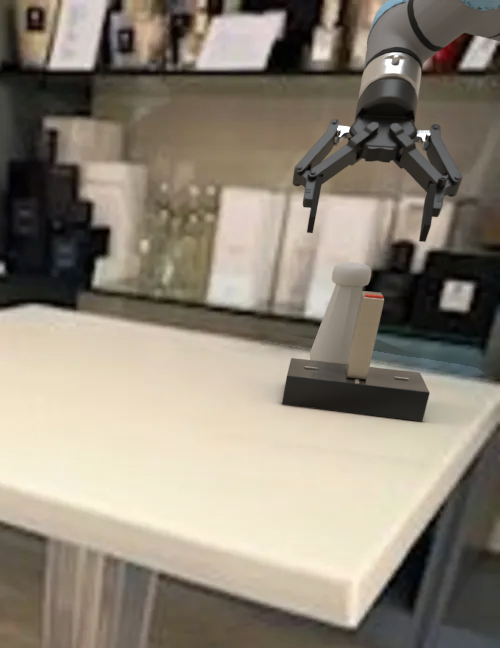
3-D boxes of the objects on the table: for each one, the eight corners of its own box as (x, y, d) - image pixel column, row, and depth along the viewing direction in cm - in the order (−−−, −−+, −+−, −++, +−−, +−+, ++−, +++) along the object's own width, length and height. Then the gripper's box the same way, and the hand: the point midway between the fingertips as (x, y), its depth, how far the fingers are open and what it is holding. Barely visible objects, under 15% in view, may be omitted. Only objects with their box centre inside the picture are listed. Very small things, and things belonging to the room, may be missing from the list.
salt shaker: (316, 379, 104) (339, 264, 99) (299, 369, 110) (320, 259, 104) (363, 381, 105) (388, 266, 99) (344, 371, 110) (366, 262, 105)
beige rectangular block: (345, 366, 96) (362, 288, 93) (364, 369, 96) (382, 290, 92) (346, 377, 91) (364, 294, 87) (366, 380, 90) (385, 296, 87)
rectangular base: (413, 399, 98) (420, 370, 96) (422, 421, 88) (430, 390, 87) (286, 384, 101) (291, 356, 100) (281, 404, 91) (287, 373, 90)
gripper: (293, 72, 114) (267, 198, 108) (498, 80, 109) (483, 213, 102) (288, 121, 121) (263, 242, 115) (480, 130, 116) (465, 259, 109)
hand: (367, 229), depth 108 cm, fingers open, 13 cm apart
